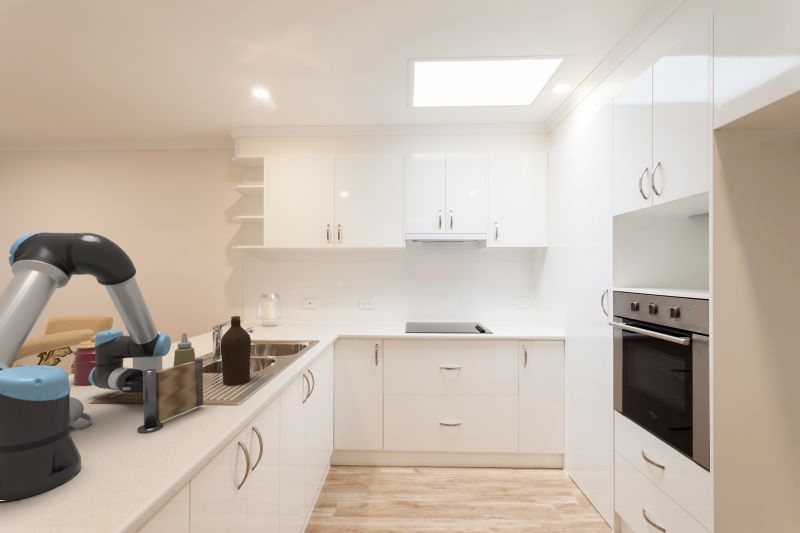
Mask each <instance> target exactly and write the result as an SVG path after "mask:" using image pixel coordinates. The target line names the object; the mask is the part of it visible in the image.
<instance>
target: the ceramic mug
mask: <svg viewBox="0 0 800 533" xmlns="http://www.w3.org/2000/svg"><path fill="white" fill-rule="evenodd" d="M84 408H85V407H84V404H83V403H82V400H81V401H80V399H78V398H75V397H71V396H70V428H77V429H82V428H87V427H89V426H90V425H91V424H92V422H93V419H94V418H93V417H92V416H91V415H90V414H89V413H86V412H84V411H85V409H84ZM79 419H82V420H85V421H86V422H79V421H78V420H79Z"/></svg>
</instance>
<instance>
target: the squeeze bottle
mask: <svg viewBox="0 0 800 533" xmlns="http://www.w3.org/2000/svg"><path fill="white" fill-rule="evenodd" d="M173 358H174V359H173V366H172V367H174V366H178V365H181V364H185V363H188V362H192V360H194V359H196V354H195V348H194V347H192V342H191V341H189V339H188V335H187V332H186V333H182V335H181V339H180V342H178V343H177V348H176V349H175V350H174V357H173Z"/></svg>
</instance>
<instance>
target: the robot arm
mask: <svg viewBox="0 0 800 533" xmlns="http://www.w3.org/2000/svg"><path fill="white" fill-rule="evenodd" d="M9 254H10V256H9V257H8V262H9V265H10V267H11V268H10V269H11V272H12V274H13V277H12V279H11V280H10V282H9V283H8V285H6V287H5V289H4V290H3V291H2V293H1V294H0V500H6V501H5V502H8V501H7V500H11V501H16V499H17V500H21V499H24V498H28V497H32V496H35V495H39V494H41V493H44V492H46V491H49V490H51V489H54V488H57V487H58V486H60V485H62V484H64V483H66V482H67V481H69V480H70V479H72V478H73V477H75V476H76V475H77V474H78V473H79V472H80V471H81V469H82V457H81V453H80V451H79V450H78V448H77V445H76V443H75V442H74V439H73V438H72V435H71V427H70V397H71V394H70V393H71V385H70V381H69V380H70V379H69V375H68V373H67V371H66V370H65V369H63V368H61V367H60V366H53V365H46V364H45V365H43V364H42V365H39V364H38V365H34V364H33V365H26V366H23V365H21V366H19V365H18V366H13V367H11V365H12V364H13V362H14V360H15V359H16V357H17V356H18V354H19V352H20V351H21V349H22V347H23V346H24V343H25V342H26V340H27V339H28V337H29V335H30V333H31V332H32V330H33V328H34V327H35V325H36V323H37V321H38V320H39V318H40V317H41V315H42V313H43V312H44V309H46V307H47V306H48V303H49V302H50V300H51V298H52V297H53V295H54V294H55V291H56V290H57V289H61V288H63V287H66V286H67V285H68V283H69V282H70V280H71V278H72V276H75V275H77V276H80V275H85V276H86V275H88V276H89V275H90V276H92V277H94V278H95V279H96V280H97V283H98V284H99V285H101V286H104V287H105V289H106V290H107V293H108V295H109V297H110V299H111V302H112V303H113V305H114V307H115V309H116V311H117V313H118V314H119V317H120V318H121V321H122V323H123V325H124V327H125V328H126V331H127V333H128V335H124V333H123V331H122V329H109V330H102V331H99V332H97V333H96V337H95V359H96V365H95V367H94V368H93V369H92V370H91V372H90V374H89V381H90V383H91V384H92V386H94V387H97V388H99V389H104V390H106V389H107V390H112V391H117V392H121V393H124V394H125V393H126V394H127V393H128V394H135V393H136V394H138V393H140V394H143V371H142V370H139V369H133V367H126V366H125V367H124V359H133V358H145V357H160V356H162V357H166V356H167V355H168V354H169V352H170V350H171V348H172V346H171V345H172V341H171V337H170V335H168V334H163V333H160V335H159V333H158V332H159V331H158V329H157V326H156V324H155V321H154V320H153V318H152V315H151V312H150V311H149V308H148V305H147V303H146V300H145V299H144V296H143V293H142V292H141V291H142V290H141V289H140V286H139V284H138V282H137V279H136V274H137V269H136V267H135V264H134V263H133V260H132V259H131V257H130V256H129V255H128V254H127V253H126V252H125V250H124V249H123V248H121V246H119V245H118V244H117V243H115V242H114V241H112V240H111V239H109V238H108V237H106V236H103V235H101V234H98V233H91V232H49V231H48V232H47V231H43V232H34V233H27V234H24V235H22V236H19V238H17V239H16V240H15V241H14V242H13V244H12V245H11V247H10V248H9Z"/></svg>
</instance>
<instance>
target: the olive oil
mask: <svg viewBox="0 0 800 533" xmlns="http://www.w3.org/2000/svg"><path fill="white" fill-rule="evenodd" d="M230 318H231V320H230V327H229V328H228V329H227V331H226V332H224V334H223V336H222V337H221V339H220V353H221V356H220V357H221V372H222V384H223V385H224V386H227V387H230V386H231V387H232V386H233V387H234V386H240V385H244V384H247V383H249V382H250V381H251V380H250V379H251V353H252V351H251V350H252V349H251V348H252V339H251V336H250V334H249V333H248V332H247V330H245V328H243V326H241V321H242V320H241V316H240V315H233V316H231V317H230Z"/></svg>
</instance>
